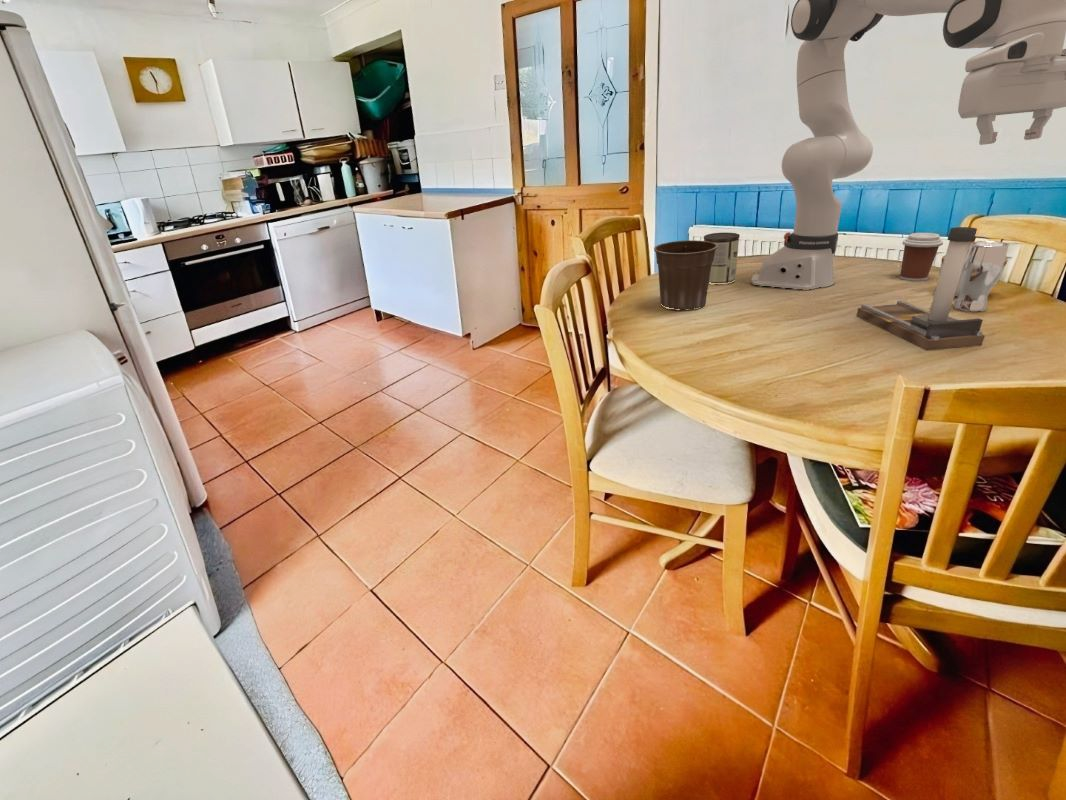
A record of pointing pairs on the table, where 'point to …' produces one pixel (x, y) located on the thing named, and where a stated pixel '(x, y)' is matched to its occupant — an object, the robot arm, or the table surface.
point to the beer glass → (980, 274)
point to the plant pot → (684, 272)
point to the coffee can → (723, 257)
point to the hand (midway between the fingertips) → (1009, 141)
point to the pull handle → (948, 277)
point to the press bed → (935, 336)
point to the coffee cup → (919, 255)
